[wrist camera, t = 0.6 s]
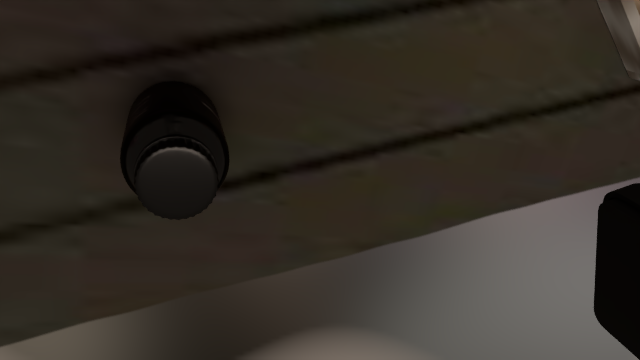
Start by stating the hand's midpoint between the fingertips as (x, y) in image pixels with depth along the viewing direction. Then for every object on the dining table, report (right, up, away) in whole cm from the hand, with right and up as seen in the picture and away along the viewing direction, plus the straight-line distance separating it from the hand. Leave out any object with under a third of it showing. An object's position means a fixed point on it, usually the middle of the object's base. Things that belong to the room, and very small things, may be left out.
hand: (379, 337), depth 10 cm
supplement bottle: (-12, +7, +32) cm, 35 cm away
